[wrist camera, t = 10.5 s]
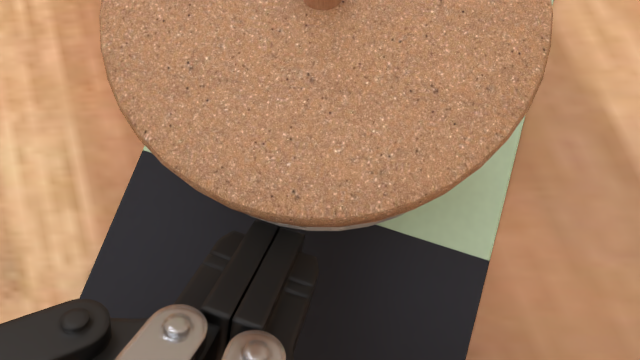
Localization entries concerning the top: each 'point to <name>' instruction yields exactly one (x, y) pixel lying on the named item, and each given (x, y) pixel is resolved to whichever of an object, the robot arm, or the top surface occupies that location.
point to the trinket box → (324, 97)
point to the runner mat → (321, 263)
